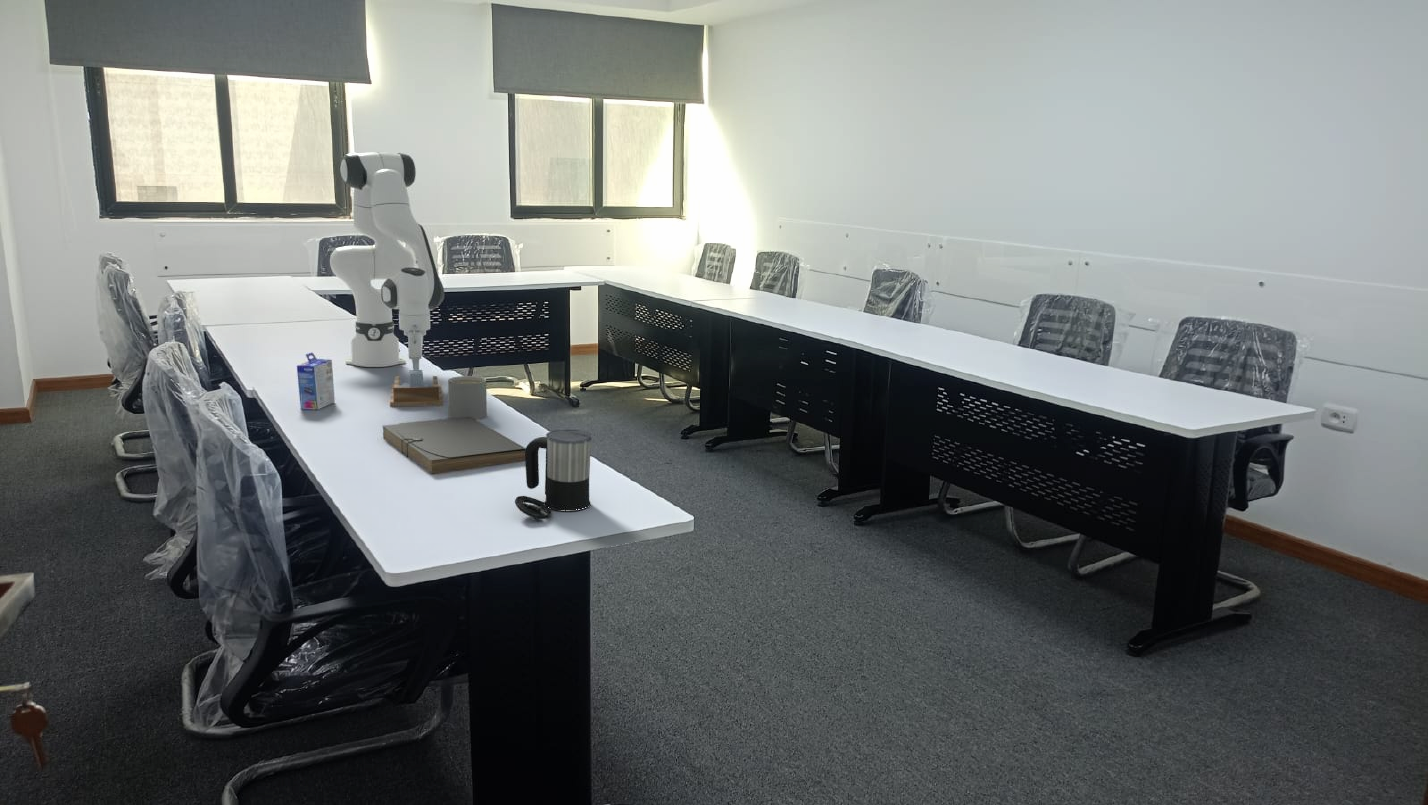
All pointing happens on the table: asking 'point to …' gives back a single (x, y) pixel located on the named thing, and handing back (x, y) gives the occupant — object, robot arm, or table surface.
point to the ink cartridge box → (315, 383)
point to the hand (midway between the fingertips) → (416, 369)
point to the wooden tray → (416, 394)
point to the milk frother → (558, 472)
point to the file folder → (453, 444)
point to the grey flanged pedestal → (416, 379)
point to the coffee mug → (467, 397)
